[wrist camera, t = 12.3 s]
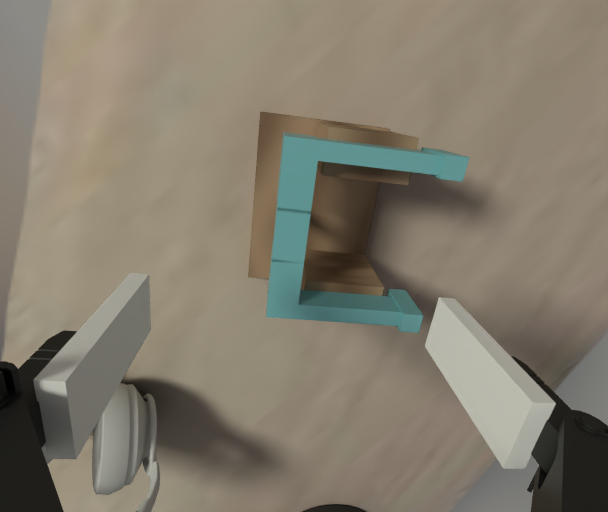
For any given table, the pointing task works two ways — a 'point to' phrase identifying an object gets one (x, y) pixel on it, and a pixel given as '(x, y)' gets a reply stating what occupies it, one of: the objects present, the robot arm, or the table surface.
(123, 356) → the robot arm
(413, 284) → the table surface
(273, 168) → the stand
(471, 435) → the table surface
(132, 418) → the headphones
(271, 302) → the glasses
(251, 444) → the table surface
